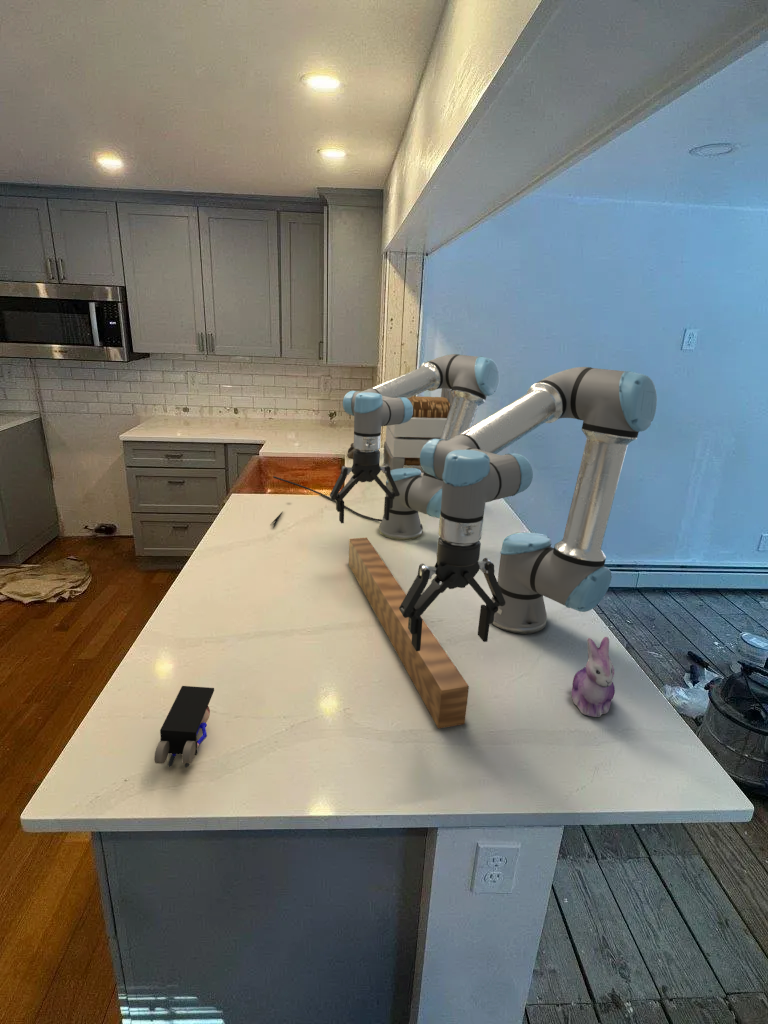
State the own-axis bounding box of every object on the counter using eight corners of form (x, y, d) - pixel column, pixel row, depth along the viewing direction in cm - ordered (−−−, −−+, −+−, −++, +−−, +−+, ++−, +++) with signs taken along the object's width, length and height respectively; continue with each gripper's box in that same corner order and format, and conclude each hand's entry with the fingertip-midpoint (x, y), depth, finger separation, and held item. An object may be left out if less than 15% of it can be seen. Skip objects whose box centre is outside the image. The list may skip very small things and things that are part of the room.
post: (348, 564, 174) (349, 538, 171) (366, 563, 176) (366, 537, 173) (438, 729, 108) (441, 690, 105) (464, 724, 109) (469, 686, 106)
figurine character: (196, 782, 95) (218, 713, 108) (191, 750, 92) (215, 683, 105) (155, 781, 95) (183, 712, 108) (149, 749, 91) (178, 682, 105)
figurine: (594, 725, 110) (608, 660, 105) (557, 694, 119) (568, 632, 114) (628, 712, 114) (643, 648, 109) (590, 683, 123) (602, 622, 118)
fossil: (347, 441, 314) (368, 426, 309) (358, 454, 317) (379, 439, 312) (341, 455, 294) (363, 439, 289) (352, 469, 297) (375, 453, 292)
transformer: (382, 463, 289) (386, 382, 275) (445, 464, 293) (451, 384, 279) (390, 482, 257) (394, 392, 243) (460, 483, 261) (468, 394, 247)
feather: (289, 506, 225) (292, 502, 225) (272, 529, 199) (275, 525, 198) (286, 503, 225) (288, 500, 225) (268, 527, 199) (271, 522, 198)
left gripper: (325, 453, 151) (324, 527, 159) (413, 451, 159) (408, 522, 166) (320, 447, 158) (319, 518, 165) (404, 445, 166) (400, 513, 173)
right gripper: (398, 552, 93) (392, 662, 100) (533, 541, 100) (518, 645, 107) (385, 535, 100) (380, 639, 107) (512, 526, 107) (499, 624, 114)
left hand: (364, 520), depth 166 cm, fingers open, 13 cm apart
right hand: (449, 642), depth 107 cm, fingers open, 13 cm apart
